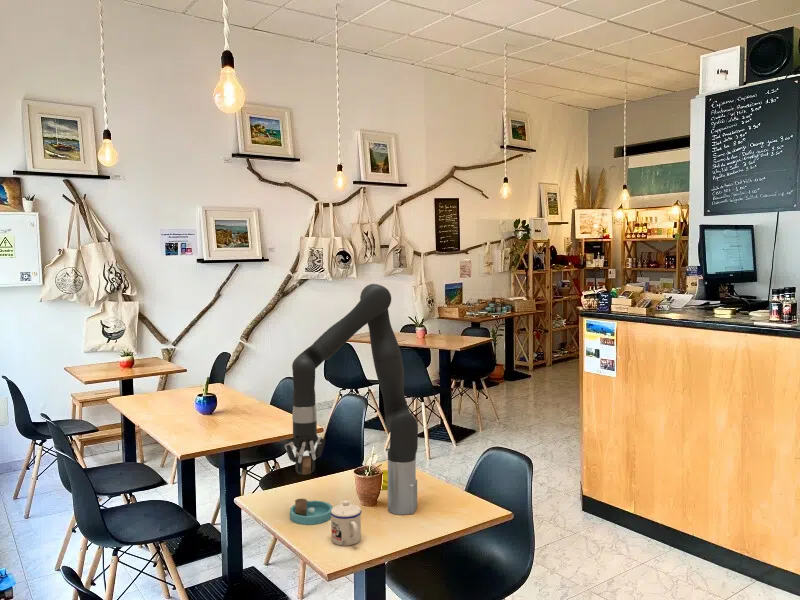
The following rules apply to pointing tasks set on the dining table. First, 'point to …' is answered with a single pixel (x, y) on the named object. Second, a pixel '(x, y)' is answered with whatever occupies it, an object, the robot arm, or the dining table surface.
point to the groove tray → (314, 518)
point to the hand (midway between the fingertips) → (305, 472)
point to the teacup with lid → (346, 524)
